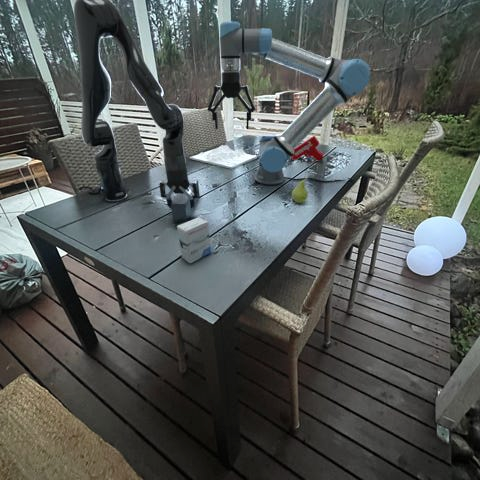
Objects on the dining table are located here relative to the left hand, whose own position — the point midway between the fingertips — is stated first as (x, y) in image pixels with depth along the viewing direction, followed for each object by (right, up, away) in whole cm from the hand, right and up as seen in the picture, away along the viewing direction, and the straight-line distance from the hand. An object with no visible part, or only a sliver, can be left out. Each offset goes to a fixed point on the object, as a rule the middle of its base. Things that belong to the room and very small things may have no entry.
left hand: (181, 207), depth 106 cm
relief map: (+12, +41, +73) cm, 84 cm away
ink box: (+9, -18, -19) cm, 27 cm away
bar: (0, +1, +10) cm, 10 cm away
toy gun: (+65, +38, +68) cm, 102 cm away
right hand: (+19, +36, +13) cm, 43 cm away
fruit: (+50, +4, +15) cm, 52 cm away
